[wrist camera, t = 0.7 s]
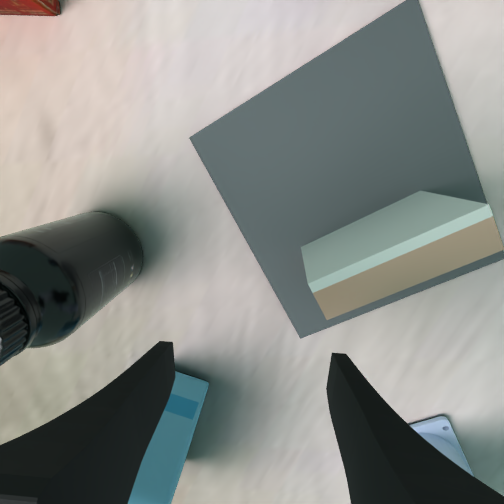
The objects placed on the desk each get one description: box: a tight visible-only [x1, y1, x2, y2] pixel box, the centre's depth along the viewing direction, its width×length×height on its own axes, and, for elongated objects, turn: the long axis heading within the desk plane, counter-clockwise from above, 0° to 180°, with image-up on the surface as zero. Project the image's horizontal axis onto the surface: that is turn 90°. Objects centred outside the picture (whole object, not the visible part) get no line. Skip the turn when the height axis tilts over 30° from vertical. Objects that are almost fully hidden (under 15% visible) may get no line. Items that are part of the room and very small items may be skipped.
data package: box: [128, 371, 209, 504], centre depth 23 cm, size 12×4×12 cm, turn 163°
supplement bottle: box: [0, 212, 143, 366], centre depth 18 cm, size 7×7×12 cm
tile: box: [301, 191, 504, 320], centre depth 18 cm, size 2×9×7 cm, turn 118°
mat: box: [190, 0, 504, 338], centre depth 21 cm, size 18×16×1 cm
